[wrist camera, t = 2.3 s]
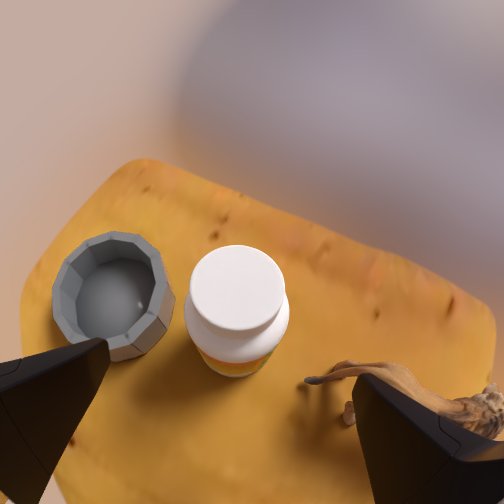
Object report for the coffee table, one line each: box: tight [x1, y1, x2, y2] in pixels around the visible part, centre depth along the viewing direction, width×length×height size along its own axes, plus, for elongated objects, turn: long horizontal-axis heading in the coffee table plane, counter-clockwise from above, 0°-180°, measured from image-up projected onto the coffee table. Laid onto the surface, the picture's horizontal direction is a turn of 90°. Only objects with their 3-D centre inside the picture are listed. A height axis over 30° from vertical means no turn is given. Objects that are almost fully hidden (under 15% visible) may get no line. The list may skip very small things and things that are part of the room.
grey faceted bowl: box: [52, 231, 175, 362], centre depth 19 cm, size 10×10×3 cm
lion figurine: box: [304, 360, 504, 440], centre depth 13 cm, size 15×5×9 cm, turn 64°
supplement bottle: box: [184, 245, 289, 377], centre depth 15 cm, size 5×5×10 cm
